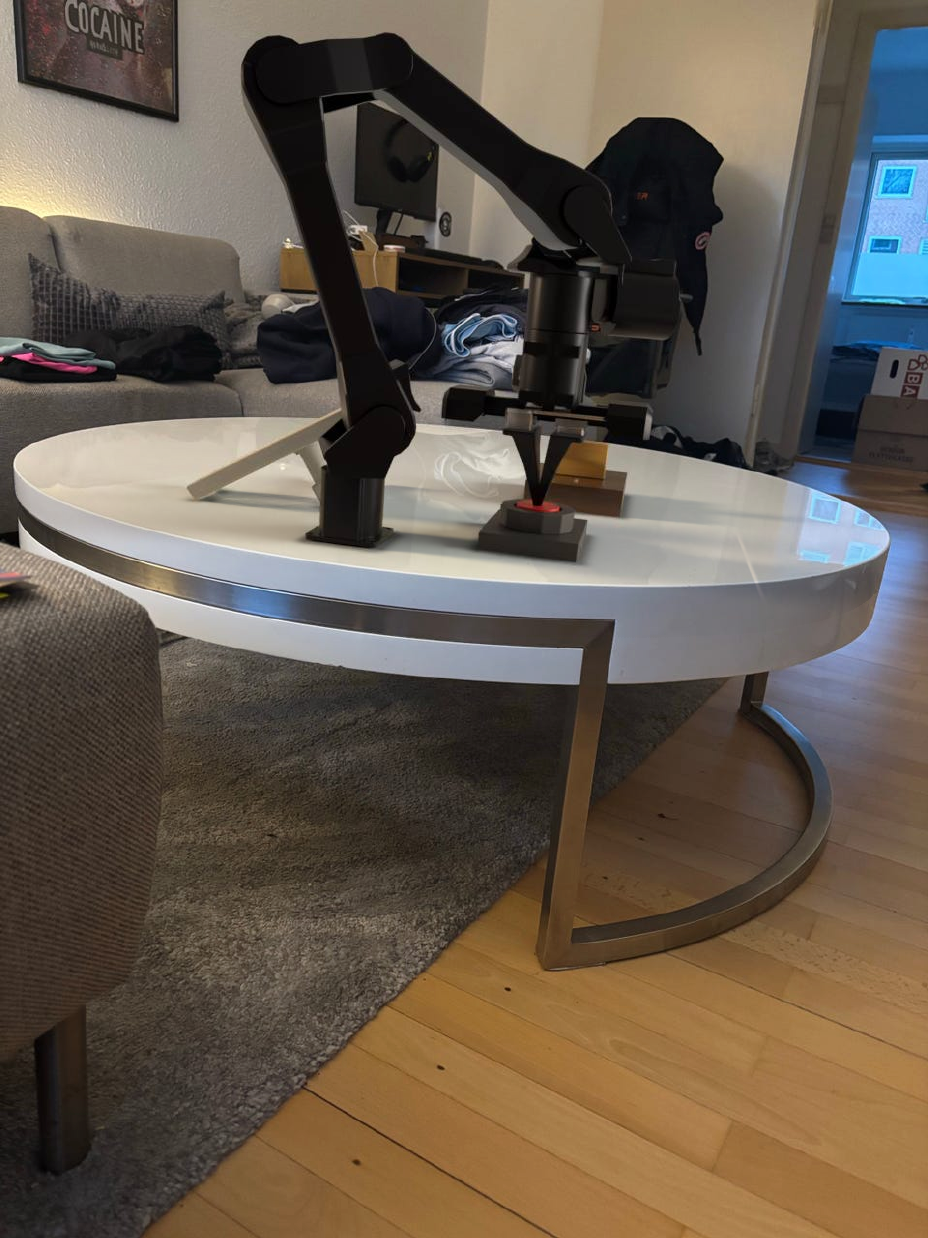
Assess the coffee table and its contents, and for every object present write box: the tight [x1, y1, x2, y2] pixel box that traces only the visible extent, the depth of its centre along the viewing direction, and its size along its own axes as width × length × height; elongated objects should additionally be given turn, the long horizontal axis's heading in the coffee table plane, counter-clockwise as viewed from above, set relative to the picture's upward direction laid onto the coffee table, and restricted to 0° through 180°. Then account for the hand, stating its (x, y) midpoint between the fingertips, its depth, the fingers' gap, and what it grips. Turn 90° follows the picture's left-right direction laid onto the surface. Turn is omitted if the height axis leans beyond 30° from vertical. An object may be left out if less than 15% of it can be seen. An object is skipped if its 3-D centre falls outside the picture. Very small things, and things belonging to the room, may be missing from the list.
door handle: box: [186, 407, 342, 503], centre depth 99 cm, size 18×8×20 cm
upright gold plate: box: [556, 440, 610, 479], centre depth 108 cm, size 6×2×4 cm, turn 78°
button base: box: [476, 498, 588, 563], centre depth 87 cm, size 11×9×4 cm
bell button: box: [517, 501, 559, 512], centre depth 86 cm, size 4×4×2 cm
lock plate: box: [522, 462, 628, 518], centre depth 109 cm, size 14×11×3 cm
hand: (537, 504), depth 86 cm, fingers closed, pressing on bell button
